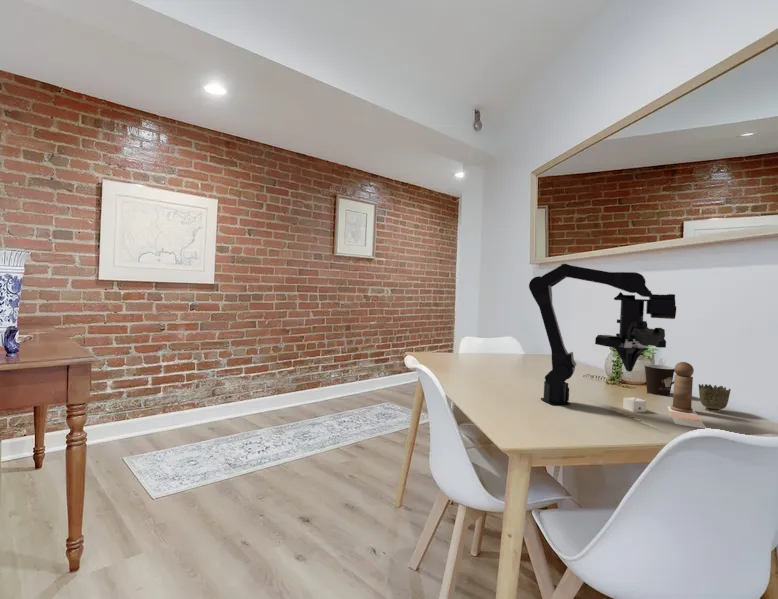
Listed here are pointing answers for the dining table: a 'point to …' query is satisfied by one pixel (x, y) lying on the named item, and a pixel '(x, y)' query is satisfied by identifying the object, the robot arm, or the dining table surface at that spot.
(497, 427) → the dining table surface
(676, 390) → the pawn
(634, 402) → the die
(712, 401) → the cup
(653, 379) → the coffee mug
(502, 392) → the dining table surface
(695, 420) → the board
